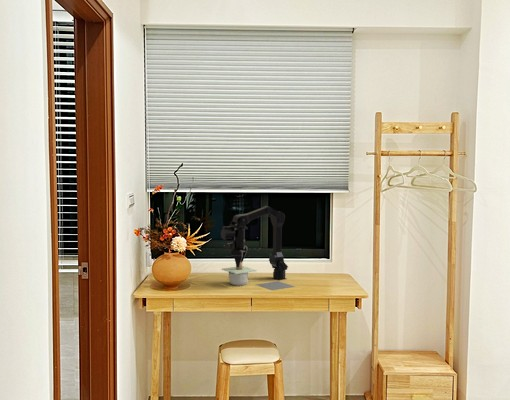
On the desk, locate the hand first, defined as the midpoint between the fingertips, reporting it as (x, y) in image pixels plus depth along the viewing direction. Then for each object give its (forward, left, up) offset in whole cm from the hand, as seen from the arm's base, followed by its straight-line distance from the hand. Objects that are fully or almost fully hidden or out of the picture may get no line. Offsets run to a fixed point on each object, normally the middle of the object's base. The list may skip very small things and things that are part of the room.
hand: (239, 265), depth 321 cm
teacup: (0, 0, -11) cm, 11 cm away
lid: (0, 0, -3) cm, 3 cm away
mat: (-14, +15, -10) cm, 23 cm away
